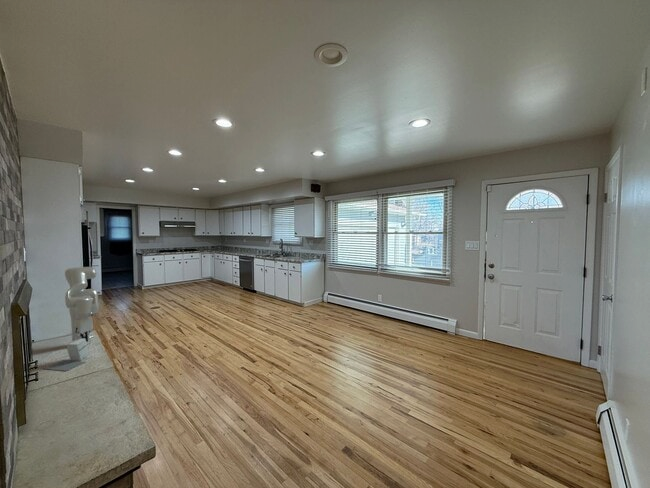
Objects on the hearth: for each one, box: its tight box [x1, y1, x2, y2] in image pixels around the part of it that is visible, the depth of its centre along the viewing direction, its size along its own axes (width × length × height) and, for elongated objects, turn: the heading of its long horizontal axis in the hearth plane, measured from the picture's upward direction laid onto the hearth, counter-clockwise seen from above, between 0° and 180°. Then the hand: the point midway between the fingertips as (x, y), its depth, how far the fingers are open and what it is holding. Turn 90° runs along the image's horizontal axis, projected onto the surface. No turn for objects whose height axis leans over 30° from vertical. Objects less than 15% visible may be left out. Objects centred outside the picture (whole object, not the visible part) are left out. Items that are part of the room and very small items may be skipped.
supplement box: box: [65, 338, 90, 362], centre depth 189 cm, size 7×7×13 cm
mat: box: [42, 359, 87, 372], centre depth 180 cm, size 12×18×1 cm, turn 80°
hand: (84, 341), depth 193 cm, fingers closed
